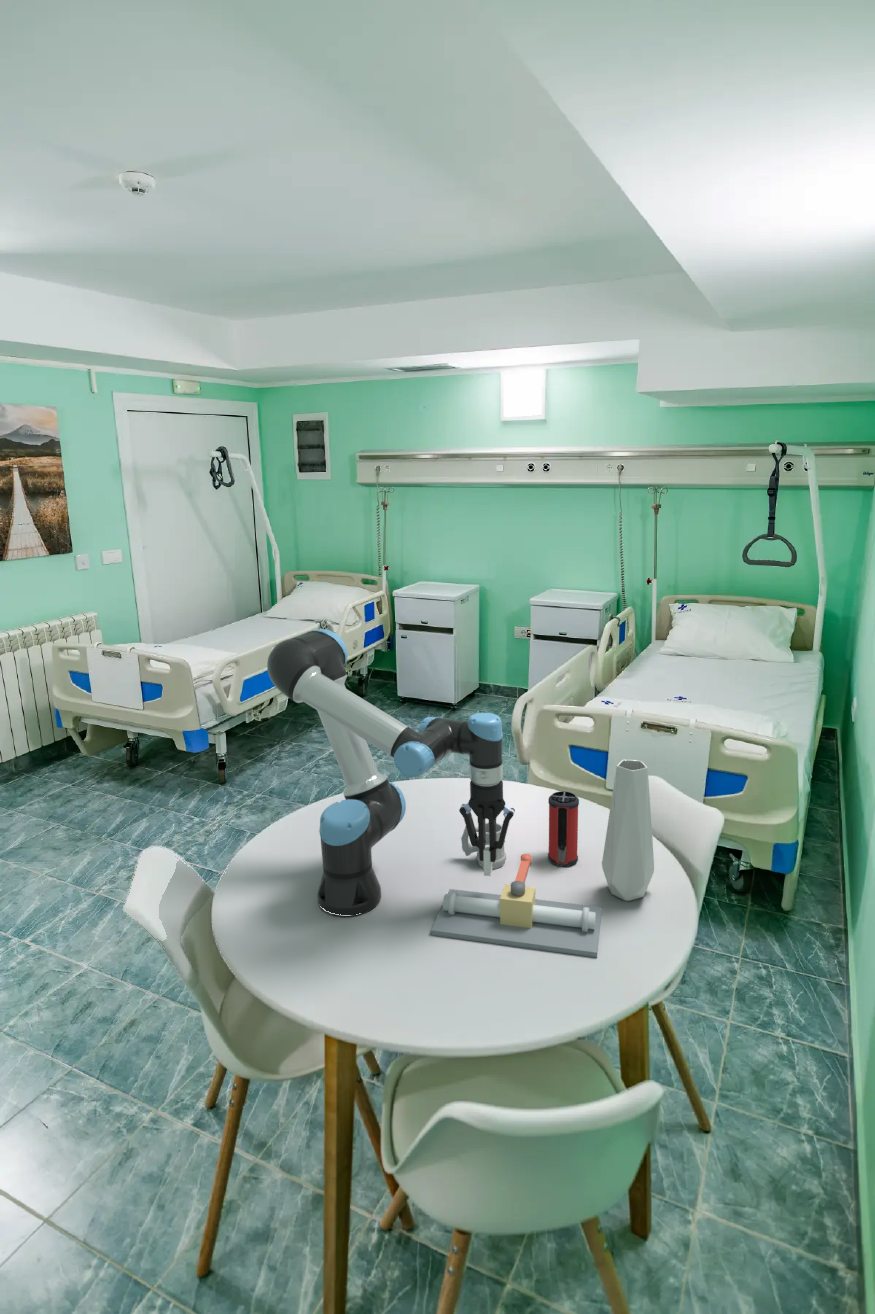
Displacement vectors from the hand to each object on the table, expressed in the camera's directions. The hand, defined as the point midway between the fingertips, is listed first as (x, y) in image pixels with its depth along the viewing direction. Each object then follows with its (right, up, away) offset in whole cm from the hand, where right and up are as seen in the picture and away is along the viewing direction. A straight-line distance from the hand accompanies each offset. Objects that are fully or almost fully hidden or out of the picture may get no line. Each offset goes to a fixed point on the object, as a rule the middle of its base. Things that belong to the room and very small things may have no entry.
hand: (488, 872), depth 178 cm
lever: (+8, 0, -4) cm, 9 cm away
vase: (+33, -6, +3) cm, 34 cm away
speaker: (+21, -2, +19) cm, 28 cm away
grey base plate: (+6, -9, -8) cm, 13 cm away
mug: (0, -3, +19) cm, 19 cm away
